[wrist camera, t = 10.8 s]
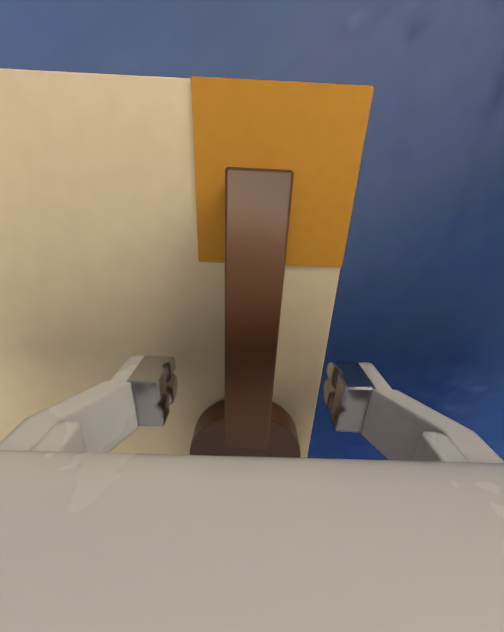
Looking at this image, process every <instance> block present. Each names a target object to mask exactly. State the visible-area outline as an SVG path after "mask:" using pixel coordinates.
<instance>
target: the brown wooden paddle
mask: <svg viewBox="0 0 504 632" xmlns="http://www.w3.org/2000/svg"><path fill="white" fill-rule="evenodd" d="M293 179H294V172H293V171H292V170H284V169H264V168H244V167H226V169H225V399H224V400H221V401H219V402H217V403H215V404H213V405H212V406H210V407H209V408H208V409H207V410H205V411H204V412H203V414H202V415H201V416H200V418H199V419H198V421H197V423H196V426H195V430H194V434H193V438H192V442H191V446H190V455H207V456H247V457H288V458H300V455H301V452H300V445H299V440H298V435H297V430H296V426H295V423H294V421H293V419H292V418H291V416H290V415H289V414H288V413H287V412H286V411H285V410H284V409H283V408H282V407H281V406H279V405H277V404H276V403H274V402H272V398H273V388H274V377H275V367H276V356H277V346H278V335H279V325H280V314H281V304H282V294H283V283H284V273H285V262H286V252H287V241H288V231H289V220H290V210H291V199H292V189H293Z"/></svg>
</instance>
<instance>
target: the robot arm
mask: <svg viewBox="0 0 504 632" xmlns="http://www.w3.org/2000/svg"><path fill="white" fill-rule="evenodd" d="M175 368H176V364H175V359H174V357H167V356H148V355H147V356H146V355H132V356H130V357H129V358H128V359H127V361H126V362H125V363H124V364H123V365H122V367H121V368H120V369H119V370H118V371H117V373H116V374H115V375H114V376H113V377H112V379H111V380H110V381H104V382H102V383H100V384H97V385H95V386H93V387H91V388H89V389H87V390H85V391H83V392H81V393H78V394H76V395H74V396H72V397H70V398H68V399H66V400H64V401H62V402H59V403H57V404H55V405H53V406H51V407H49V408H47V409H45V410H43V411H40V412H38V413H36V414H34V415H32V416H30V417H28V418H26V419H24V420H23V421H22V422H21V423H20V424H19V425H18V426H17V427H16V428H14V429H13V430H12V431H11V432H10V433H9V434H8V435H7V436H6V437H5V438H4V439H3V440H2V441H0V632H504V461H503V460H502V459H501V458H500V457H499V456H498V455H497V454H496V453H495V452H494V451H493V450H492V449H491V448H490V447H489V446H488V445H487V444H486V443H485V442H484V441H483V440H482V439H481V438H480V437H479V436H478V435H477V434H476V433H475V432H474V431H472V430H470V429H468V428H466V427H464V426H463V425H461V424H459V423H457V422H455V421H453V420H451V419H450V418H448V417H446V416H444V415H442V414H440V413H439V412H437V411H435V410H433V409H431V408H429V407H427V406H426V405H424V404H422V403H420V402H418V401H416V400H415V399H413V398H411V397H409V396H407V395H405V394H403V393H402V392H400V391H398V390H392V388H391V387H390V386H389V385H388V383H387V382H386V381H385V380H384V378H383V377H382V376H381V374H380V373H379V372H378V371H377V369H376V368H375V367H374V366H373V364H371V363H334V362H329V364H328V366H327V371H326V372H327V374H328V377H329V378H328V379H327V380H326V381H325V382H324V401H325V404H326V407H327V408H328V409H330V410H331V414H330V417H331V420H332V423H333V425H334V428H335V430H336V431H344V432H361V433H360V434H361V435H362V436H363V437H365V438H366V439H367V440H368V441H369V442H370V443H371V444H372V445H373V446H374V447H375V448H376V449H377V450H378V451H379V452H381V453H382V454H383V455H384V456H385V457H386V458H387V459H388V460H363V459H326V458H288V457H247V456H207V455H170V454H132V453H109V452H110V451H111V450H113V449H114V448H115V447H116V446H117V445H118V444H120V443H121V442H122V441H123V440H124V439H126V438H127V437H128V436H129V435H130V434H131V433H133V432H134V431H135V430H136V429H137V428H138V426H164V424H165V422H166V420H167V417H168V415H169V412H170V409H169V405H171V404H172V403H173V402H174V400H175V397H176V392H177V377H176V376H175V374H174V373H173V372H174V370H175Z"/></svg>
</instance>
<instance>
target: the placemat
mask: <svg viewBox="0 0 504 632" xmlns="http://www.w3.org/2000/svg"><path fill="white" fill-rule="evenodd" d="M373 89H374V86H364V85H345V84H326V83H308V82H289V81H270V80H251V79H232V78H213V77H194V76H191V79H188V78H169V77H151V76H132V75H113V74H94V73H75V72H56V71H37V70H18V69H0V441H2V440H3V439H4V438H5V437H6V436H7V435H8V434H9V433H10V432H11V431H12V430H13V429H14V428H16V427H17V426H18V425H19V424H20V423H21V422H22V421H23V420H24V419H26V418H28V417H30V416H32V415H34V414H36V413H38V412H40V411H43V410H45V409H47V408H49V407H51V406H53V405H55V404H57V403H59V402H62V401H64V400H66V399H68V398H70V397H72V396H74V395H76V394H78V393H81V392H83V391H85V390H87V389H89V388H91V387H93V386H95V385H97V384H100V383H102V382H104V381H110V380H111V379H112V377H113V376H114V375H115V374H116V373H117V371H118V370H119V369H120V368H121V367H122V365H123V364H124V363H125V362H126V361H127V359H128V358H129V357H130V356H132V355H146V356H147V355H148V356H167V357H174V359H175V364H176V368H175V370H174V372H173V373H174V374H175V376H176V377H177V392H176V397H175V400H174V402H173V403H172V404H171V405H169V409H170V412H169V415H168V417H167V420H166V422H165V424H164V426H138V428H137V429H136V430H135V431H134V432H133V433H131V434H130V435H129V436H128V437H127V438H126V439H124V440H123V441H122V442H121V443H120V444H118V445H117V446H116V447H115V448H114V449H113V450H111V451H110V452H109V453H132V454H170V455H190V446H191V442H192V438H193V434H194V430H195V426H196V423H197V421H198V419H199V418H200V416H201V415H202V414H203V412H204V411H205V410H207V409H208V408H209V407H210V406H212V405H213V404H215V403H217V402H219V401H221V400H224V399H225V169H226V167H244V168H264V169H284V170H292V171H293V172H294V179H293V189H292V199H291V210H290V220H289V231H288V241H287V252H286V262H285V273H284V283H283V294H282V304H281V314H280V325H279V335H278V346H277V356H276V367H275V377H274V388H273V398H272V402H274V403H276V404H277V405H279V406H281V407H282V408H283V409H284V410H285V411H286V412H287V413H288V414H289V415H290V416H291V418H292V419H293V421H294V423H295V426H296V430H297V435H298V440H299V445H300V452H301V455H300V458H307V455H308V449H309V443H310V438H311V432H312V426H313V421H314V415H315V409H316V403H317V398H318V392H319V386H320V381H321V375H322V369H323V364H324V358H325V352H326V347H327V341H328V335H329V330H330V324H331V318H332V312H333V307H334V301H335V295H336V290H337V284H338V278H339V273H340V267H341V268H342V264H343V258H344V252H345V247H346V241H347V236H348V230H349V224H350V219H351V213H352V207H353V202H354V196H355V191H356V185H357V179H358V174H359V168H360V162H361V157H362V151H363V146H364V140H365V134H366V129H367V123H368V117H369V112H370V106H371V101H372V95H373Z"/></svg>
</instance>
